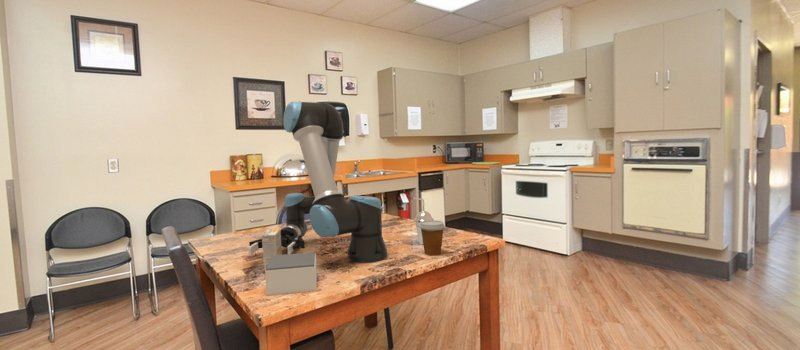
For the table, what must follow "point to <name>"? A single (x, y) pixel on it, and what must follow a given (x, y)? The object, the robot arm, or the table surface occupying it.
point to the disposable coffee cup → (432, 236)
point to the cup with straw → (421, 220)
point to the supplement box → (271, 245)
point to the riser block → (291, 273)
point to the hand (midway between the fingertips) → (269, 250)
